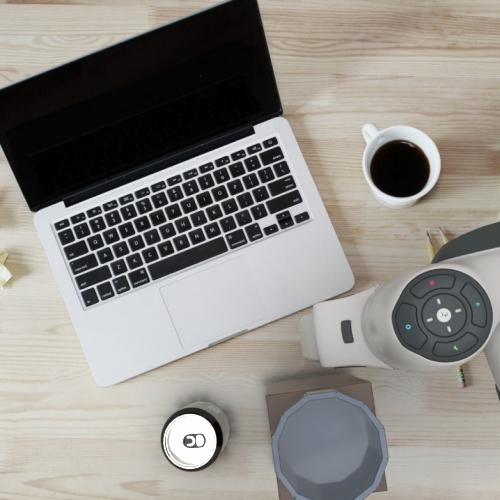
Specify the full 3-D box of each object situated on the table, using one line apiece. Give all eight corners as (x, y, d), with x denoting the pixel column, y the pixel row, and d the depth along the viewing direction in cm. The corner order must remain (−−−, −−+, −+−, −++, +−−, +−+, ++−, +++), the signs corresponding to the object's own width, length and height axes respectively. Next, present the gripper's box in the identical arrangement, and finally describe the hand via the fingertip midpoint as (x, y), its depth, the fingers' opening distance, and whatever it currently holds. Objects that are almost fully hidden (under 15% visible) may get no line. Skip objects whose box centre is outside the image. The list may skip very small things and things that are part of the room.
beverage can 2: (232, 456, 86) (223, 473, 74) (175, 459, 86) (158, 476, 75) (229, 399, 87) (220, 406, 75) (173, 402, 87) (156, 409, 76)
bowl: (370, 382, 60) (377, 385, 55) (386, 490, 59) (395, 502, 54) (266, 396, 61) (265, 400, 56) (281, 503, 59) (280, 516, 54)
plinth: (344, 372, 87) (371, 381, 60) (355, 448, 86) (387, 491, 59) (271, 382, 87) (265, 395, 61) (280, 457, 86) (279, 504, 59)
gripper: (510, 276, 68) (472, 289, 82) (297, 305, 69) (294, 313, 82) (522, 342, 67) (481, 344, 81) (306, 371, 68) (302, 368, 81)
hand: (386, 329), depth 81 cm, fingers closed on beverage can, 5 cm apart
